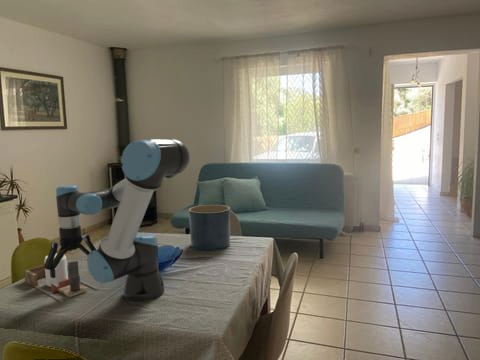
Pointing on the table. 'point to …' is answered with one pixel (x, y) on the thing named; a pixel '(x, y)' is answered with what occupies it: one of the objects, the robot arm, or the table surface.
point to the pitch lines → (59, 298)
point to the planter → (209, 227)
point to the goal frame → (36, 274)
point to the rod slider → (70, 282)
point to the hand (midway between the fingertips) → (74, 279)
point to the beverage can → (61, 271)
